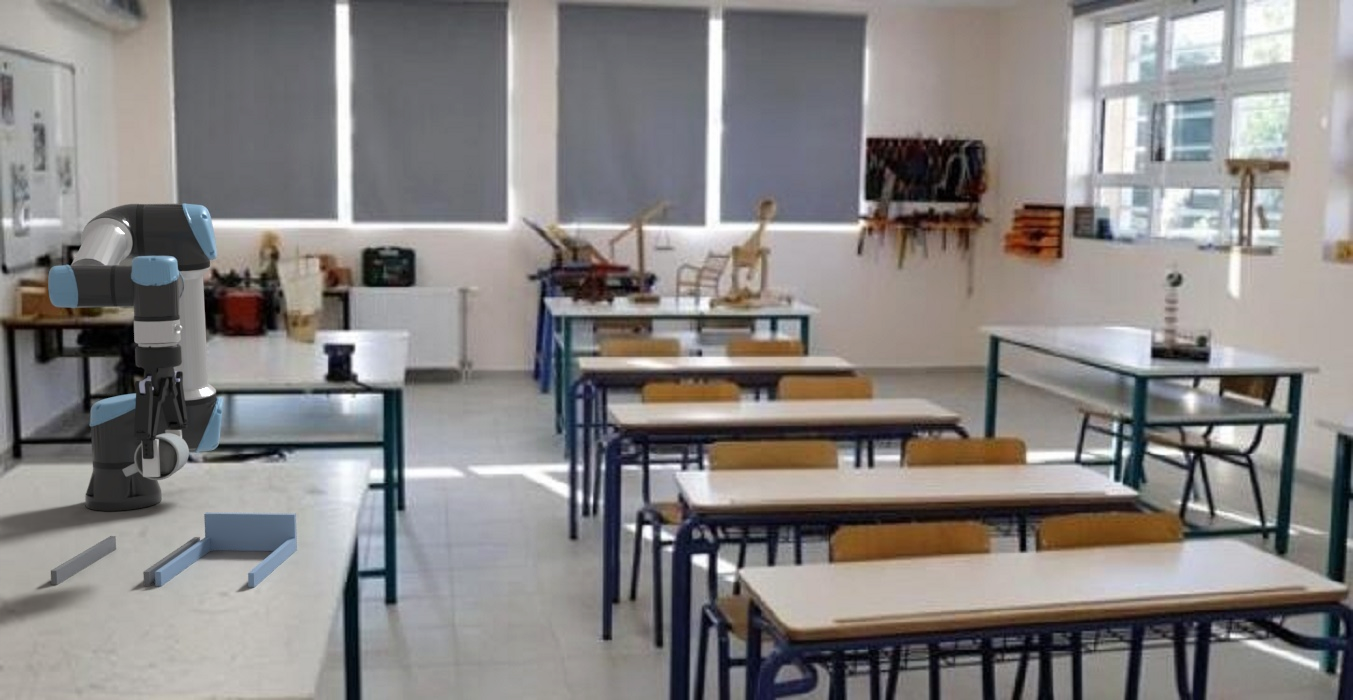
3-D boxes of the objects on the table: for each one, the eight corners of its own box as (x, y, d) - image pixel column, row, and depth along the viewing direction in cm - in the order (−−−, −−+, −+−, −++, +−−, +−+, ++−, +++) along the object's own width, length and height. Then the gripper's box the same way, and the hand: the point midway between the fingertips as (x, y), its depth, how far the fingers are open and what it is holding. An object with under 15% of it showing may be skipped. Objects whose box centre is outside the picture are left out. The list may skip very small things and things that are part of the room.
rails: (110, 548, 238) (110, 536, 237) (200, 550, 237) (199, 537, 237) (51, 584, 216) (50, 570, 215) (149, 586, 215) (149, 571, 215)
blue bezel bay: (207, 548, 238) (206, 512, 237) (297, 549, 238) (295, 513, 237) (155, 586, 215) (153, 546, 215) (254, 587, 215) (252, 547, 214)
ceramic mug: (192, 470, 228) (189, 428, 227) (180, 479, 220) (177, 436, 219) (131, 472, 227) (128, 430, 226) (116, 482, 219) (113, 438, 218)
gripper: (151, 351, 210) (157, 484, 213) (204, 337, 231) (209, 459, 234) (107, 351, 210) (113, 483, 213) (164, 337, 231) (169, 458, 234)
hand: (163, 470), depth 223 cm, fingers closed on ceramic mug, 8 cm apart
